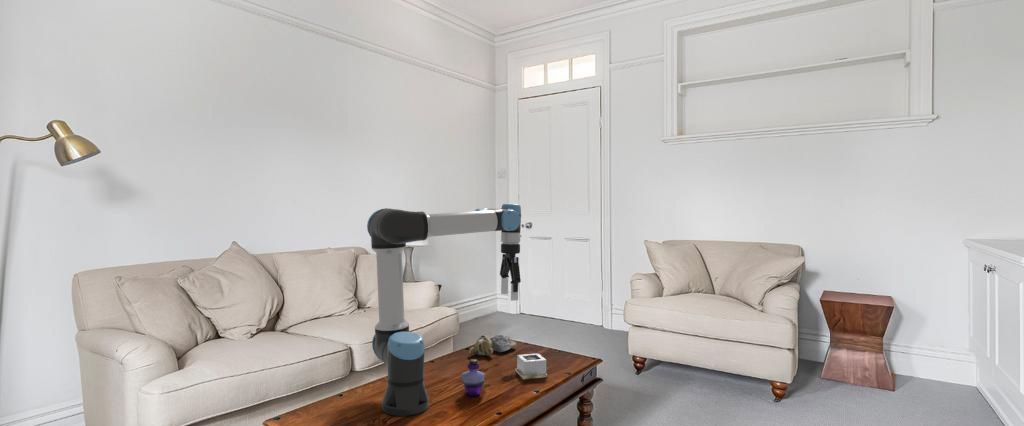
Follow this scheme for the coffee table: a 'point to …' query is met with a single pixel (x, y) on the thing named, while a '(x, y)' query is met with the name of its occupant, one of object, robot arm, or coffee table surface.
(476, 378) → the potion bottle
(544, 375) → the cream square tile
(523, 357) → the grey hollow square block
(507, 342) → the rock
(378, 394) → the coffee table surface
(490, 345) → the ceramic sculpture
